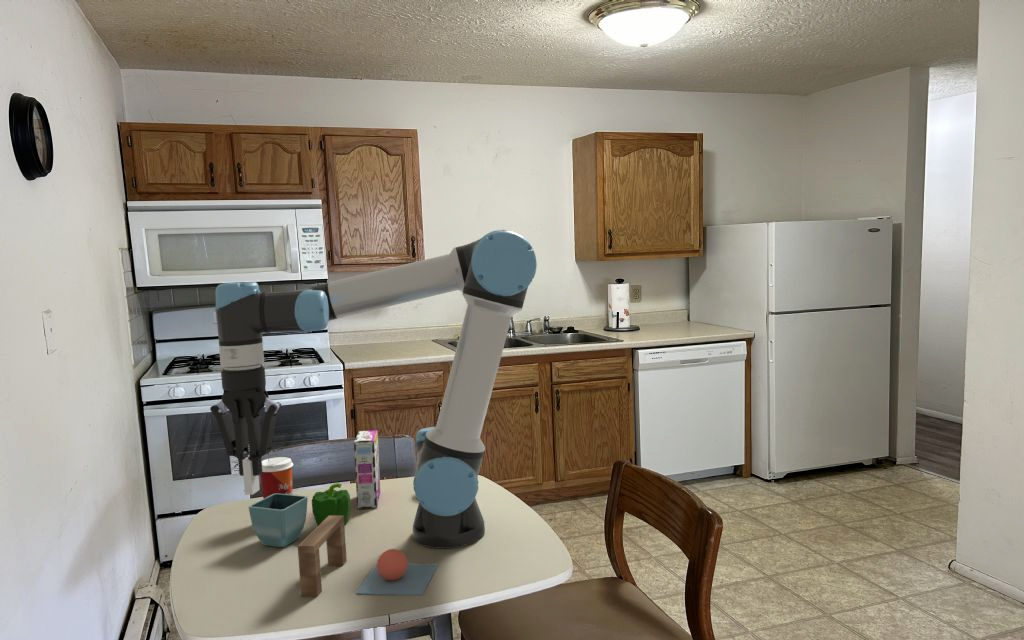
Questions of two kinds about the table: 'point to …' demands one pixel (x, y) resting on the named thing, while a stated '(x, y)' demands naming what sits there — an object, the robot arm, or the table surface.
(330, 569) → the table surface
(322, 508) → the bell pepper
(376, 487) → the candy bar box
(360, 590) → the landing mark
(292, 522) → the flower pot
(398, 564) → the ball
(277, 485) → the paper cup
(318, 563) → the bridge
